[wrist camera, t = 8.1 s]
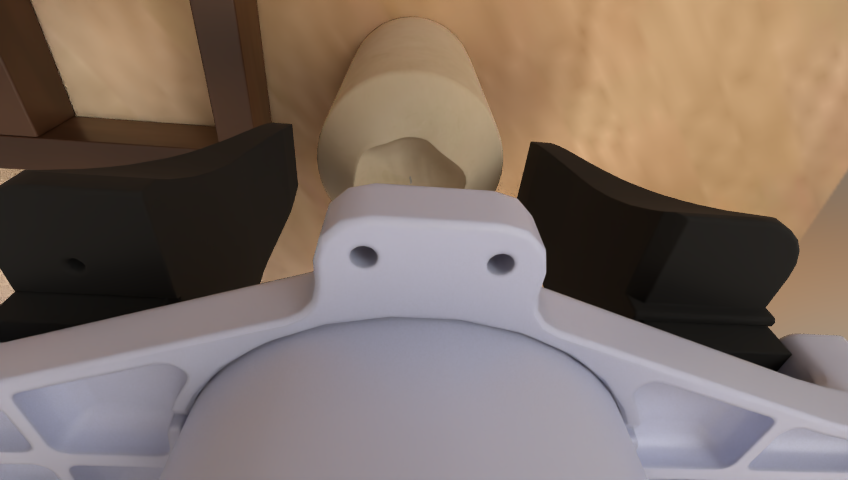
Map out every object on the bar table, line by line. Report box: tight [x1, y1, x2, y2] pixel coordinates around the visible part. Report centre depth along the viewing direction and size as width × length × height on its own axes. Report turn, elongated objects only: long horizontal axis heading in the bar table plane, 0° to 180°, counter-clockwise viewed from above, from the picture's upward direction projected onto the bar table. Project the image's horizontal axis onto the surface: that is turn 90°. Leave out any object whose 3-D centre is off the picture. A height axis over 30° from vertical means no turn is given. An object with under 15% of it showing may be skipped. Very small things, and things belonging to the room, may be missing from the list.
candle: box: [317, 17, 503, 201], centre depth 16 cm, size 6×6×10 cm
